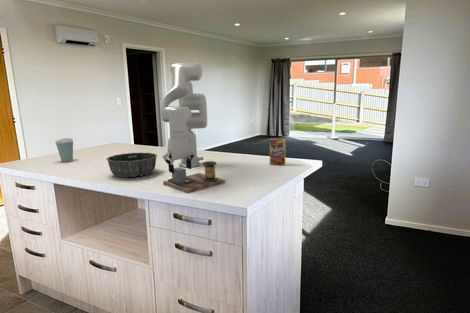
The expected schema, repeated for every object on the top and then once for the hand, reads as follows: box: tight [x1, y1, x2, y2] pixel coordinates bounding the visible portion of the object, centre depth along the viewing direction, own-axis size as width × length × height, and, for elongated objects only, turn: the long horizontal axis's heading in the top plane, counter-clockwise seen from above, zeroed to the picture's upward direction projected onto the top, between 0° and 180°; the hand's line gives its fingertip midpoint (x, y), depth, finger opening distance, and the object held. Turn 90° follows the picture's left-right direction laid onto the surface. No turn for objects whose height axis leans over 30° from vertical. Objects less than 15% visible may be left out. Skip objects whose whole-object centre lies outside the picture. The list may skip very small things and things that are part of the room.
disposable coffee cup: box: [54, 137, 74, 163], centre depth 214 cm, size 11×11×15 cm
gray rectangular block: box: [171, 166, 187, 183], centre depth 154 cm, size 4×6×6 cm, turn 43°
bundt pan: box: [106, 152, 158, 178], centre depth 177 cm, size 26×26×10 cm
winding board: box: [162, 160, 226, 194], centre depth 154 cm, size 22×20×10 cm
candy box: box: [269, 138, 287, 166], centre depth 190 cm, size 9×4×15 cm, turn 71°
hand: (180, 170), depth 153 cm, fingers open, 9 cm apart
